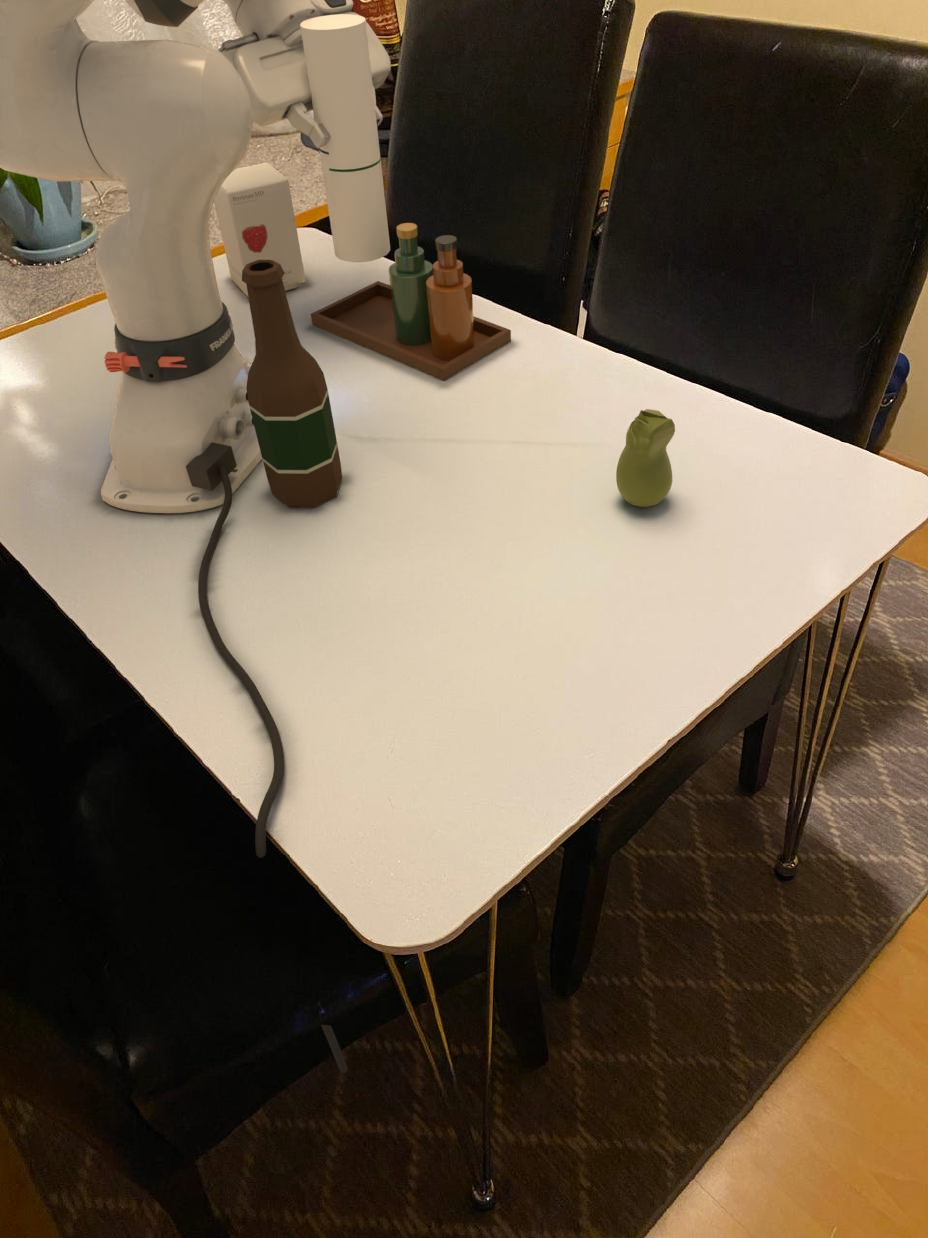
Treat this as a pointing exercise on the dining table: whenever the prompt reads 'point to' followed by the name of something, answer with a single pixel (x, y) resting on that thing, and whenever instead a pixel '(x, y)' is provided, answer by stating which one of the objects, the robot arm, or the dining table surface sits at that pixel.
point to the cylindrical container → (347, 134)
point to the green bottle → (410, 288)
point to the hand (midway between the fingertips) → (351, 133)
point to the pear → (646, 460)
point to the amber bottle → (450, 303)
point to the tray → (374, 328)
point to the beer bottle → (288, 398)
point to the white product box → (259, 223)
